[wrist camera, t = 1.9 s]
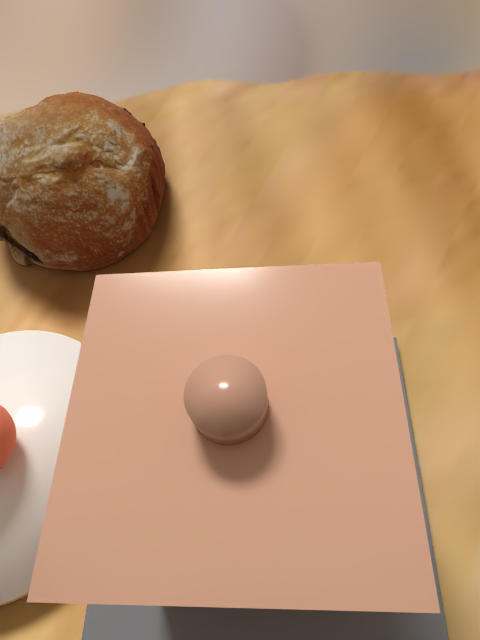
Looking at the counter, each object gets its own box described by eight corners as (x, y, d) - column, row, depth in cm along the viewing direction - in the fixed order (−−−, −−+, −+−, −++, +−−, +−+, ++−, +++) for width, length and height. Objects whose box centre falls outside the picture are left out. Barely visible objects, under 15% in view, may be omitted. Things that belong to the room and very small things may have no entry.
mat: (453, 688, 14) (457, 691, 13) (81, 672, 15) (76, 675, 15) (394, 341, 20) (396, 337, 19) (130, 349, 21) (127, 345, 21)
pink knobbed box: (363, 592, 15) (456, 617, 6) (159, 587, 16) (0, 605, 7) (343, 393, 18) (386, 239, 10) (176, 396, 19) (82, 255, 11)
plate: (10, 680, 15) (-7, 686, 14) (-177, 512, 19) (-200, 509, 18) (183, 401, 19) (178, 393, 19) (4, 307, 23) (-7, 297, 22)
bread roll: (21, 262, 29) (-100, 225, 22) (71, 113, 29) (-33, 24, 22) (151, 305, 26) (65, 282, 19) (205, 141, 27) (142, 51, 19)
